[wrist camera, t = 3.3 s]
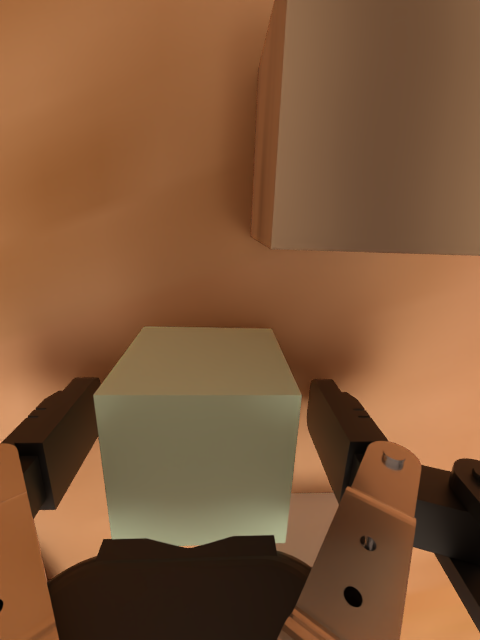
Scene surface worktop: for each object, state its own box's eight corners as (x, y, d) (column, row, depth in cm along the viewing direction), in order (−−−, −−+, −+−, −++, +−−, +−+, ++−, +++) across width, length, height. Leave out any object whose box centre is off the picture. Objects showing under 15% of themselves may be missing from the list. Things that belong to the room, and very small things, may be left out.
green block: (271, 327, 12) (301, 395, 8) (263, 432, 14) (285, 543, 9) (144, 325, 12) (92, 395, 7) (151, 432, 14) (112, 547, 9)
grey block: (340, 491, 15) (393, 614, 10) (327, 562, 17) (368, 698, 12) (239, 492, 15) (246, 621, 10) (235, 565, 16) (241, 706, 12)
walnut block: (411, 81, 10) (585, -45, 5) (383, 241, 11) (497, 256, 7) (257, 71, 10) (292, -74, 5) (250, 236, 11) (271, 249, 6)
